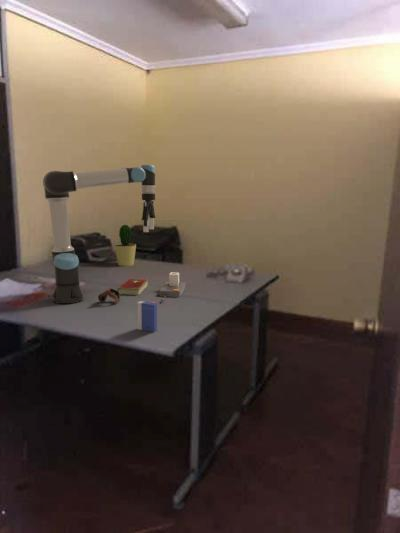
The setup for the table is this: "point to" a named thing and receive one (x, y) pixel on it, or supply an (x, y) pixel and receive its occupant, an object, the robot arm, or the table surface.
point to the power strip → (172, 290)
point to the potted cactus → (125, 247)
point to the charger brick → (174, 279)
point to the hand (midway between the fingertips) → (148, 230)
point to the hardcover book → (133, 286)
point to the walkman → (147, 316)
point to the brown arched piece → (109, 292)
